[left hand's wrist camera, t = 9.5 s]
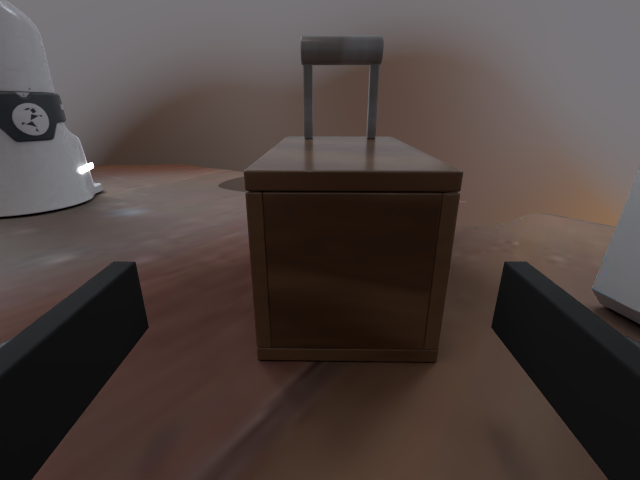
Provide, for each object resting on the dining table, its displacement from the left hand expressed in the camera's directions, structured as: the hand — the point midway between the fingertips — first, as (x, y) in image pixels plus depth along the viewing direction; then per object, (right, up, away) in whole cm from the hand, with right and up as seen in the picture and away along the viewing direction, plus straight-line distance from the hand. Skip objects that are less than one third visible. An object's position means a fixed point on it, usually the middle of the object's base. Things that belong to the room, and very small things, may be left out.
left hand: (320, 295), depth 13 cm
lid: (+2, +7, +11) cm, 14 cm away
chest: (+2, -1, +14) cm, 14 cm away
